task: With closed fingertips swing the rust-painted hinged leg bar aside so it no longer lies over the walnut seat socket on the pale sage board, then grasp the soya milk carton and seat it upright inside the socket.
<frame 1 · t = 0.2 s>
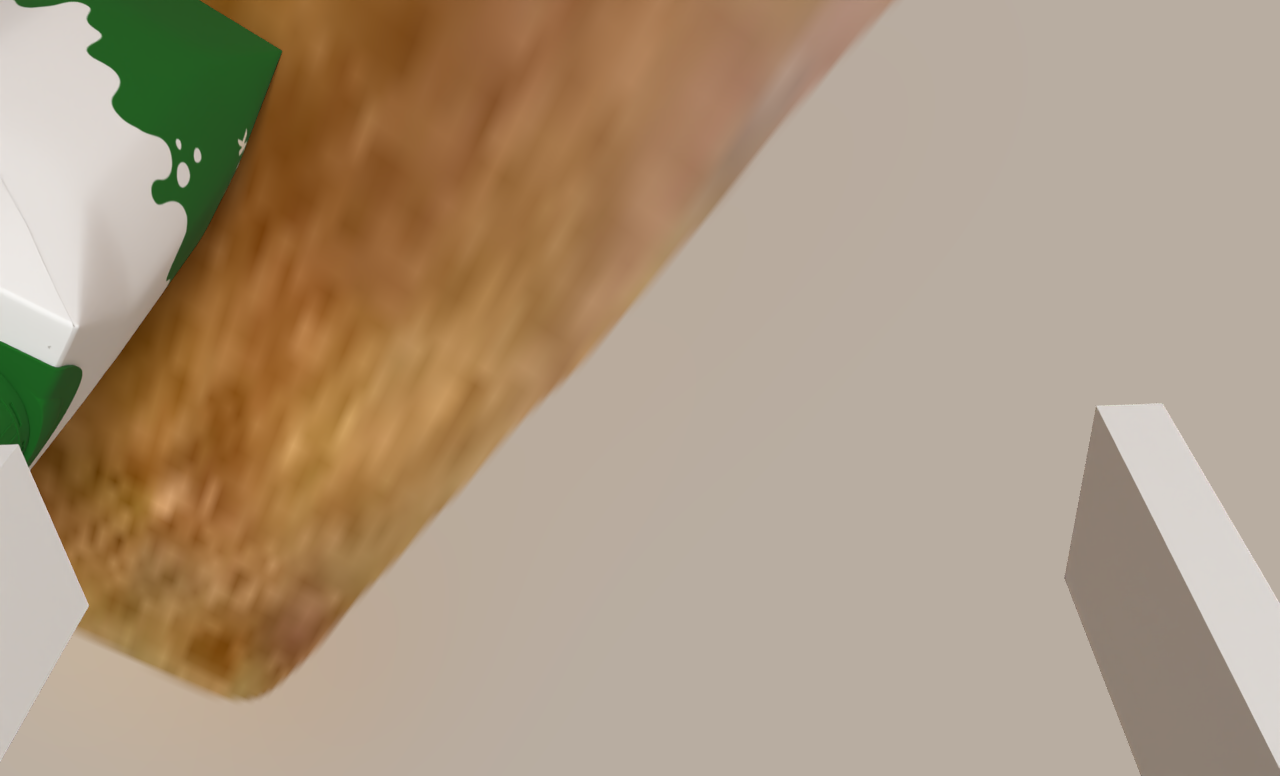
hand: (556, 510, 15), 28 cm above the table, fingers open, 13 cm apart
soya milk: (145, 71, 41), on the table
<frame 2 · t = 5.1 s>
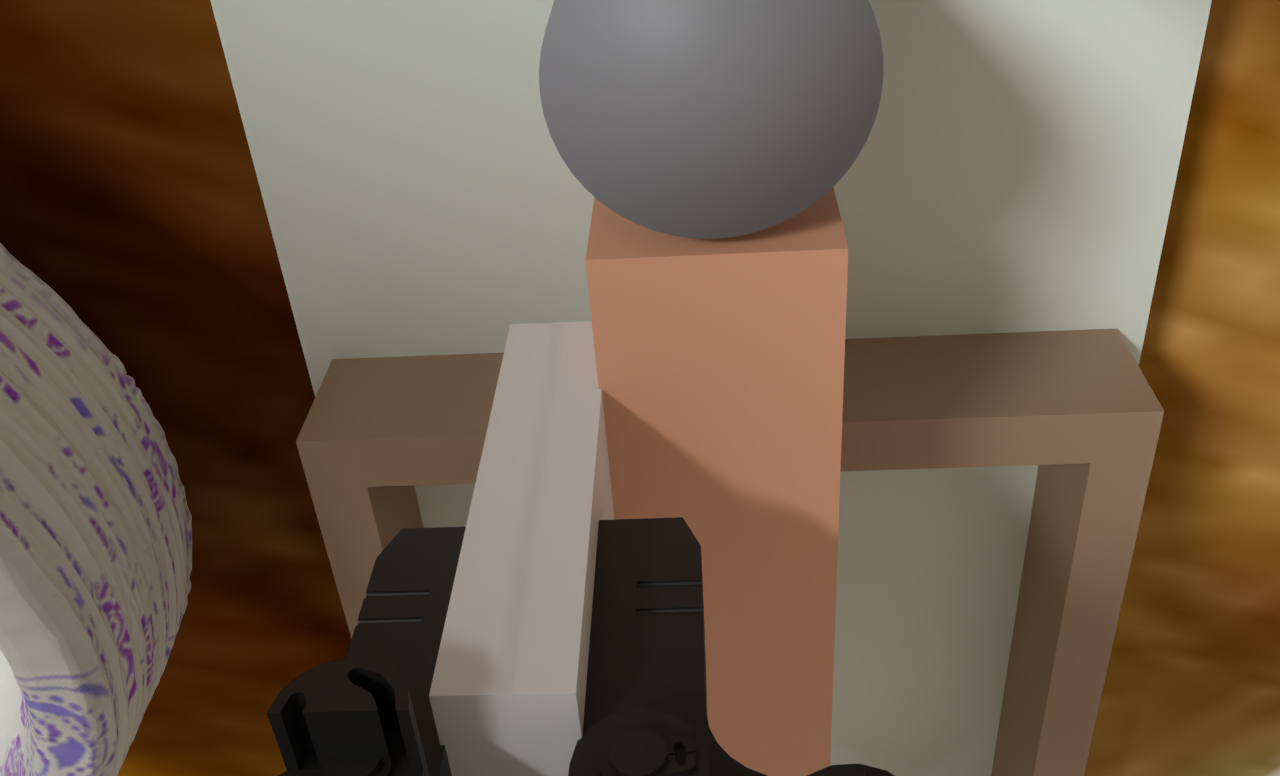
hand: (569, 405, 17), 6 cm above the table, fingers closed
leg bar: (723, 501, 18), point 6 cm above the table, hinge at 0.0°, touching gripper
seat board: (718, 397, 24), on the table
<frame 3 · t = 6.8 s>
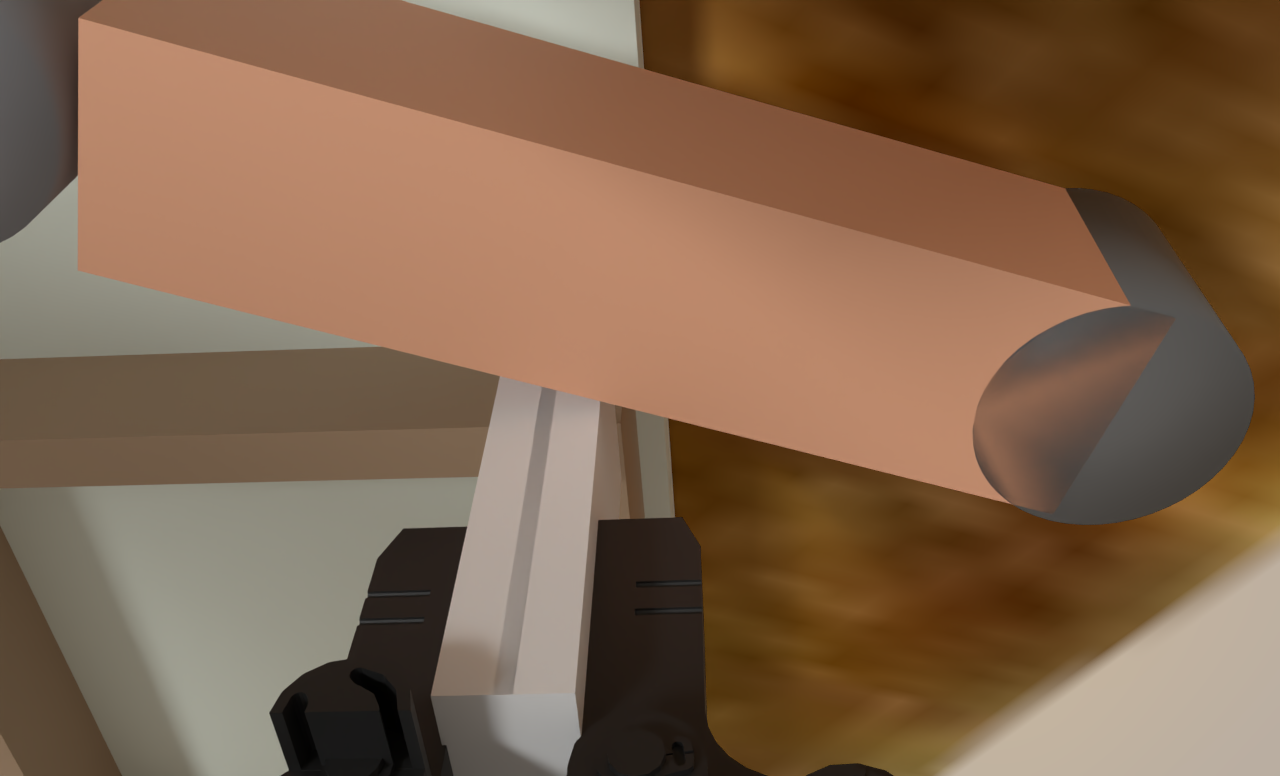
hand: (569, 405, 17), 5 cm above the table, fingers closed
leg bar: (540, 209, 15), point 6 cm above the table, hinge at 70.8°, touching gripper
seat board: (285, 403, 24), on the table
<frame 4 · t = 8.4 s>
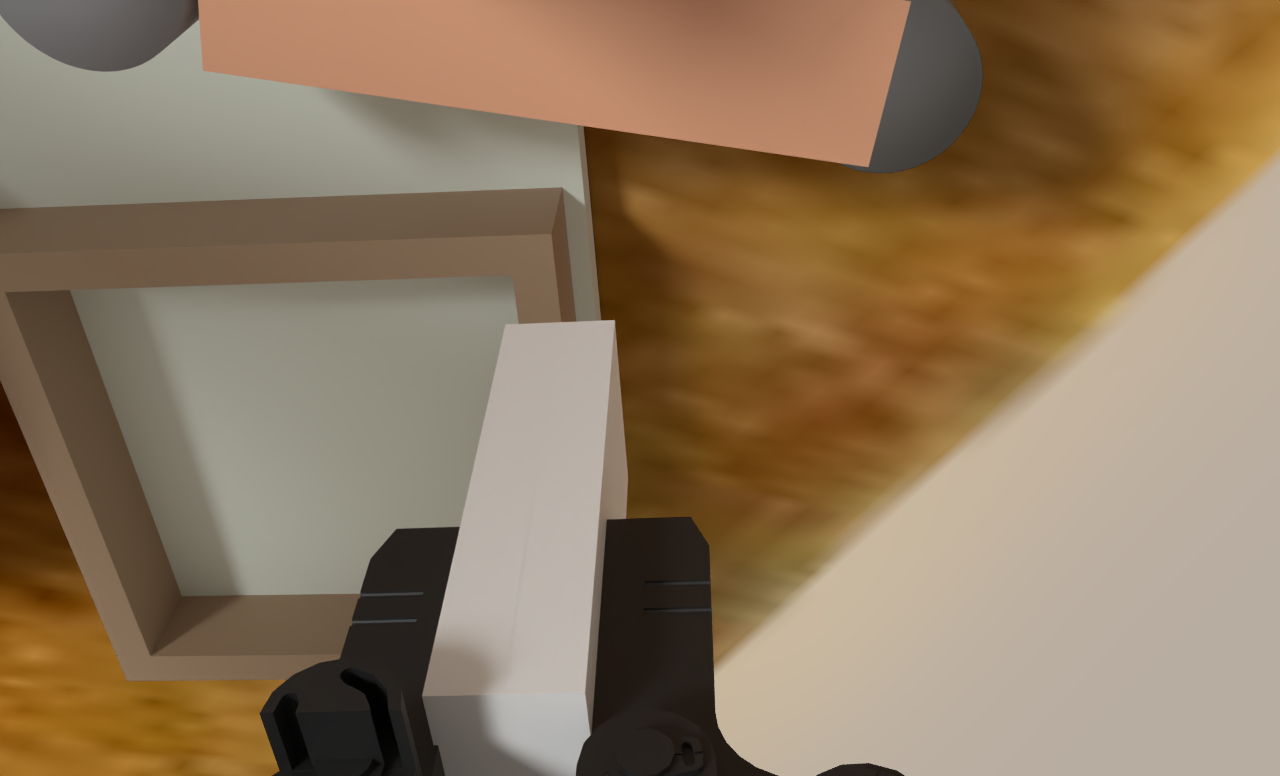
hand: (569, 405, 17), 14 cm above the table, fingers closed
leg bar: (495, 2, 22), point 6 cm above the table, hinge at 78.8°
seat board: (307, 249, 31), on the table
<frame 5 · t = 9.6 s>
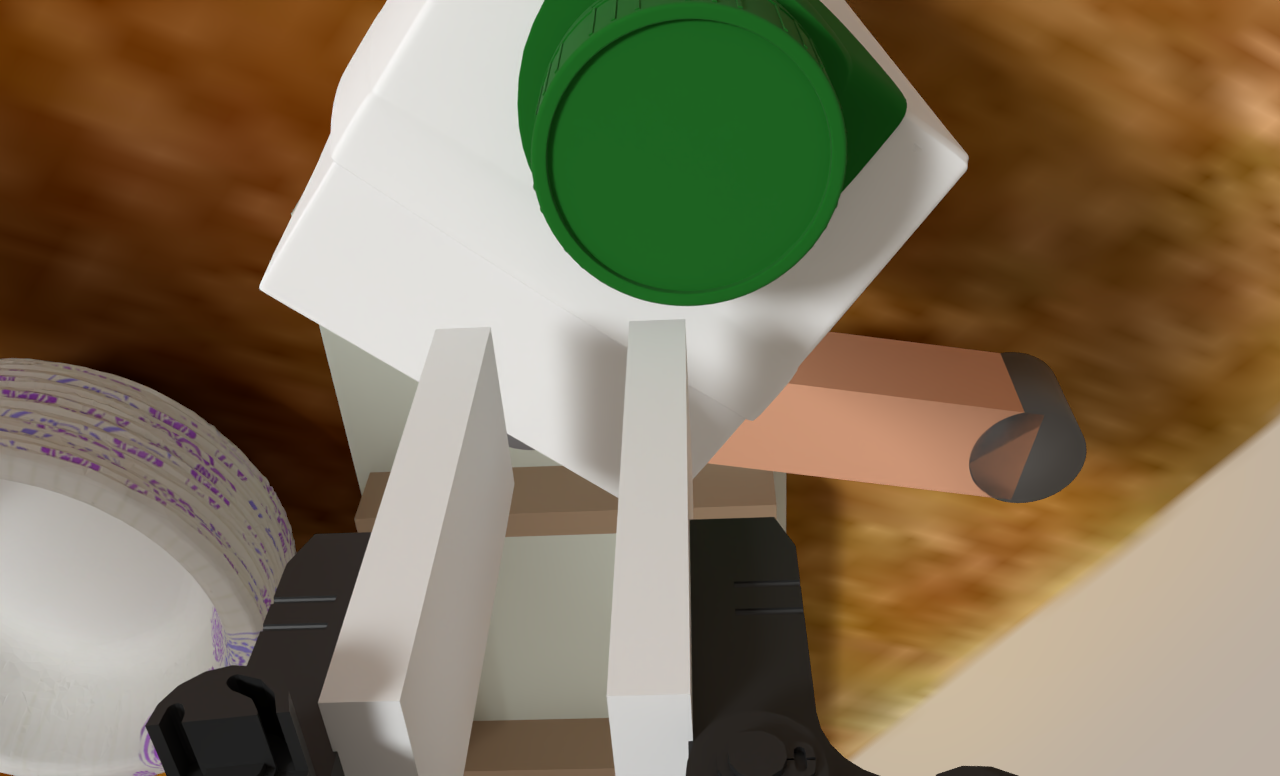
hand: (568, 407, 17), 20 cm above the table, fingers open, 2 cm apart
leg bar: (772, 397, 34), point 6 cm above the table, hinge at 78.8°
paper bowls: (117, 478, 44), on the table
seat board: (576, 488, 44), on the table
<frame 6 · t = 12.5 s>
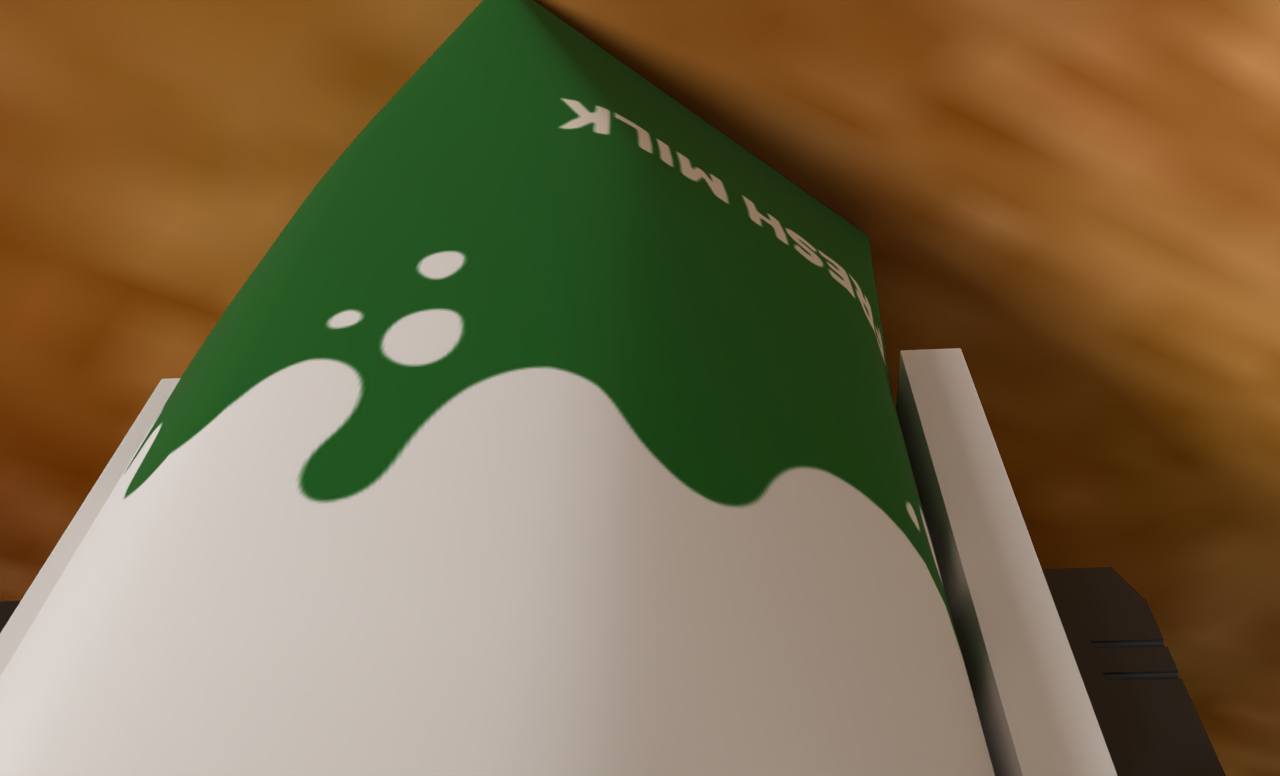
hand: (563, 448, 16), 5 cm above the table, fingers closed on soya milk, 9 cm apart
soya milk: (565, 274, 20), on the table, touching gripper
when the fingers open (7 cm above the table, at t = 20.1 s): soya milk drops 1 cm, resting on seat board.
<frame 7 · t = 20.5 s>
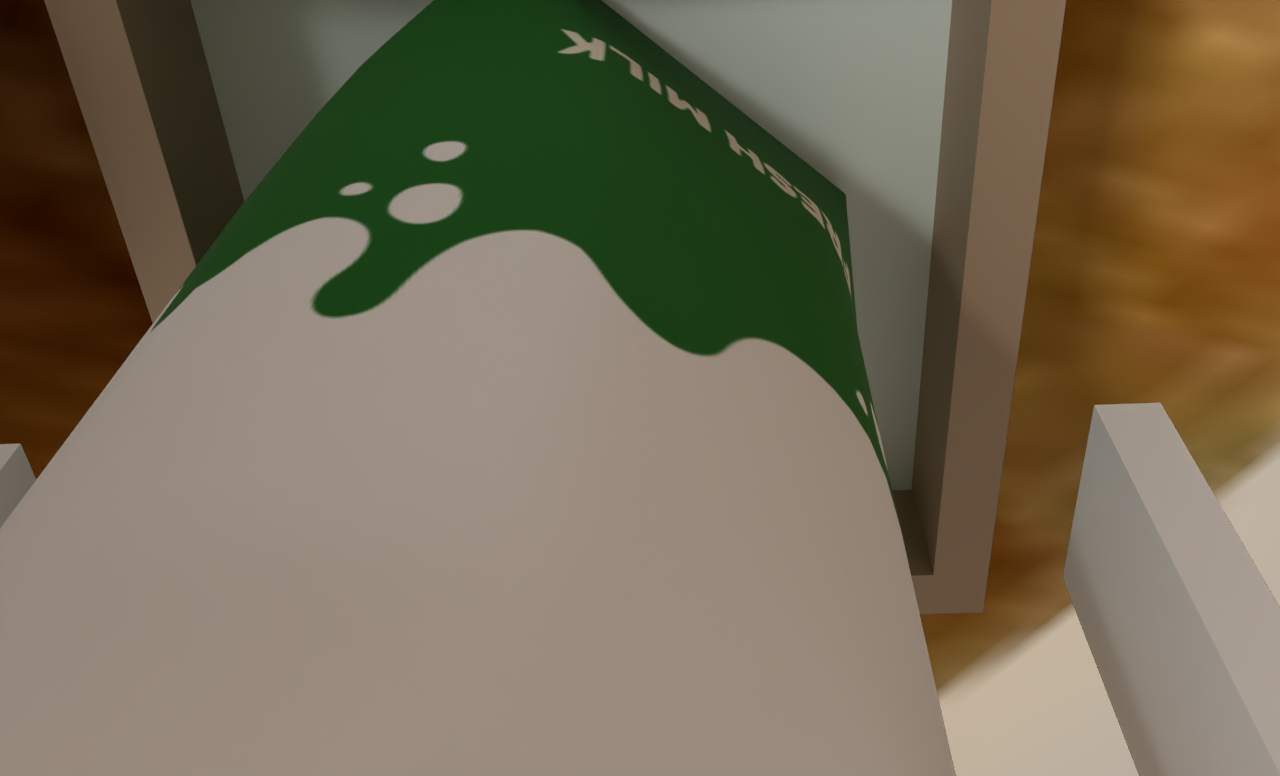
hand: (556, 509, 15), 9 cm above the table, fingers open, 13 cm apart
soya milk: (558, 219, 21), point 1 cm above the table, touching seat board
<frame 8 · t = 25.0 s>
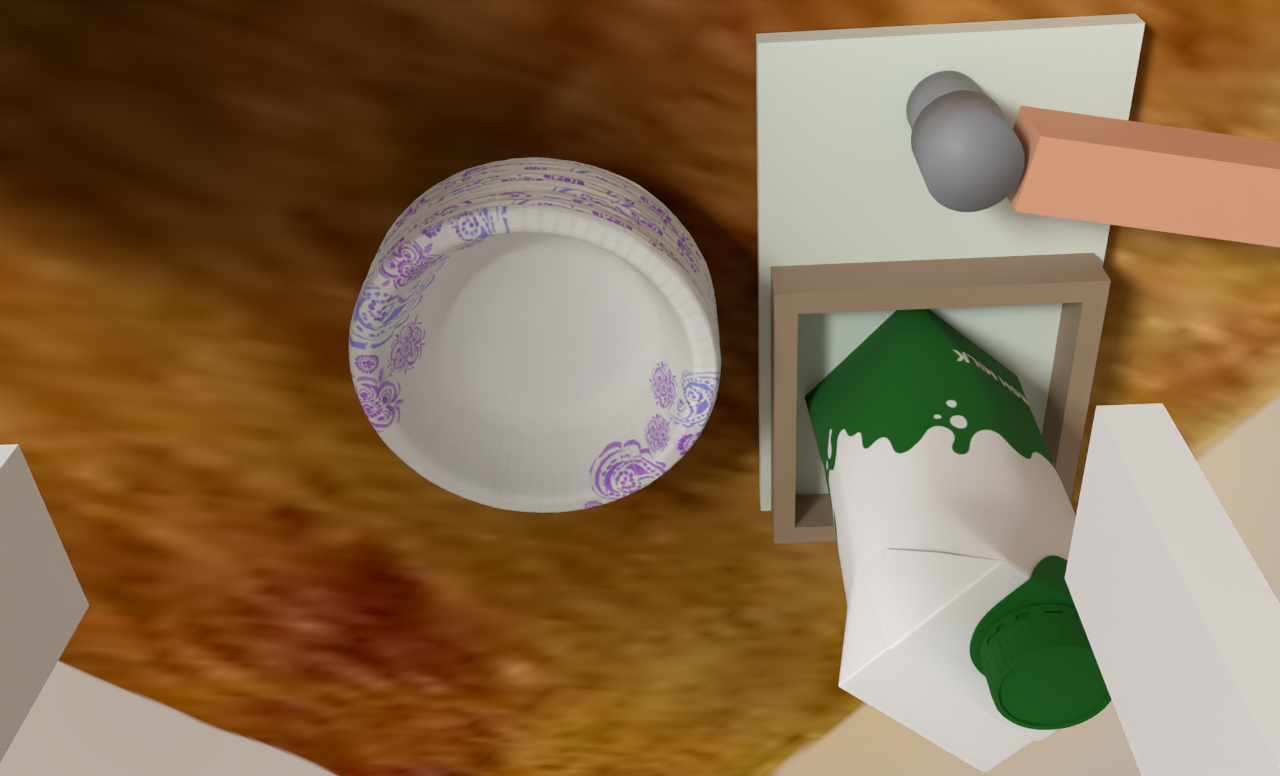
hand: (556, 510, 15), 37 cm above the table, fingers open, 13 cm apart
leg bar: (1144, 175, 45), point 6 cm above the table, hinge at 78.8°
paper bowls: (550, 279, 55), on the table
seat board: (923, 286, 55), on the table
soya milk: (907, 384, 57), point 1 cm above the table, touching seat board
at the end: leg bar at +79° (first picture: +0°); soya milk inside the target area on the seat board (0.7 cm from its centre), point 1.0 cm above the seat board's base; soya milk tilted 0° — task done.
